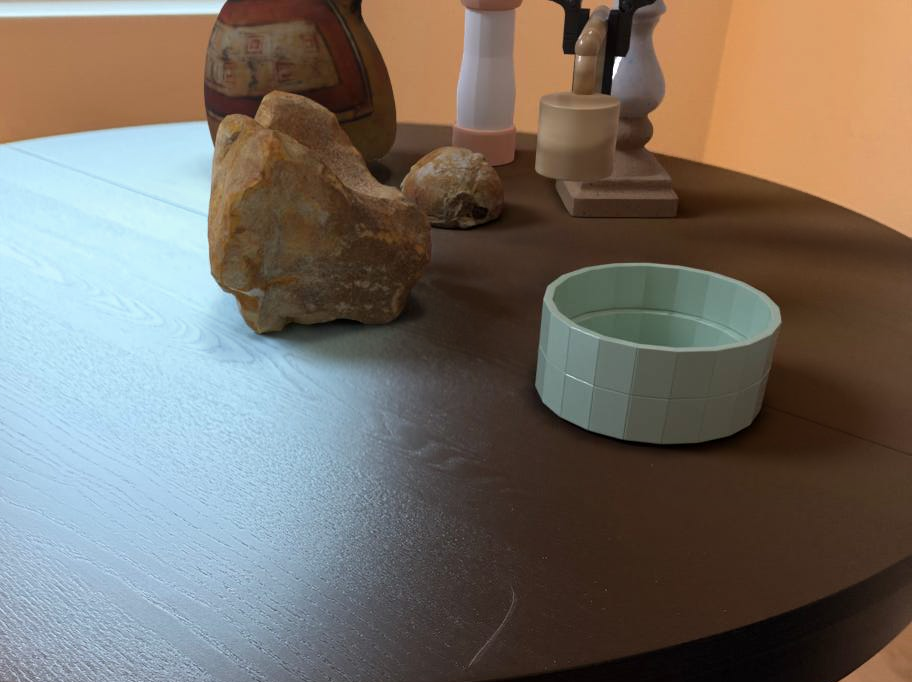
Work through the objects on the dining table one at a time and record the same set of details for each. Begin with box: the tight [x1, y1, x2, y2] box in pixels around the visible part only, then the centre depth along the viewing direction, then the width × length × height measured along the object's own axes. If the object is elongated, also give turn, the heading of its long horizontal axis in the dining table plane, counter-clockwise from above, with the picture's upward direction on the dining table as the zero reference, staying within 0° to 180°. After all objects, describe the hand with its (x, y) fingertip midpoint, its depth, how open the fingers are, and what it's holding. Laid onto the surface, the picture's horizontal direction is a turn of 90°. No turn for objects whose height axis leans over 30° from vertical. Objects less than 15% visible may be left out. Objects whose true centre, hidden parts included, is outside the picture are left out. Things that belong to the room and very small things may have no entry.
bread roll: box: [400, 145, 505, 230], centre depth 102 cm, size 10×10×8 cm
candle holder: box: [555, 0, 679, 218], centre depth 101 cm, size 11×11×24 cm
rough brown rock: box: [206, 90, 433, 335], centre depth 79 cm, size 23×17×15 cm
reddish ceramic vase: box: [203, 0, 398, 165], centre depth 104 cm, size 20×20×30 cm
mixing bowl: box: [534, 262, 783, 445], centre depth 69 cm, size 15×15×7 cm
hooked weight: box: [534, 5, 621, 181], centre depth 83 cm, size 22×6×9 cm, turn 169°
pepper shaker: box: [451, 0, 524, 167], centre depth 114 cm, size 7×7×19 cm
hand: (591, 97), depth 89 cm, fingers closed on hooked weight, 2 cm apart
